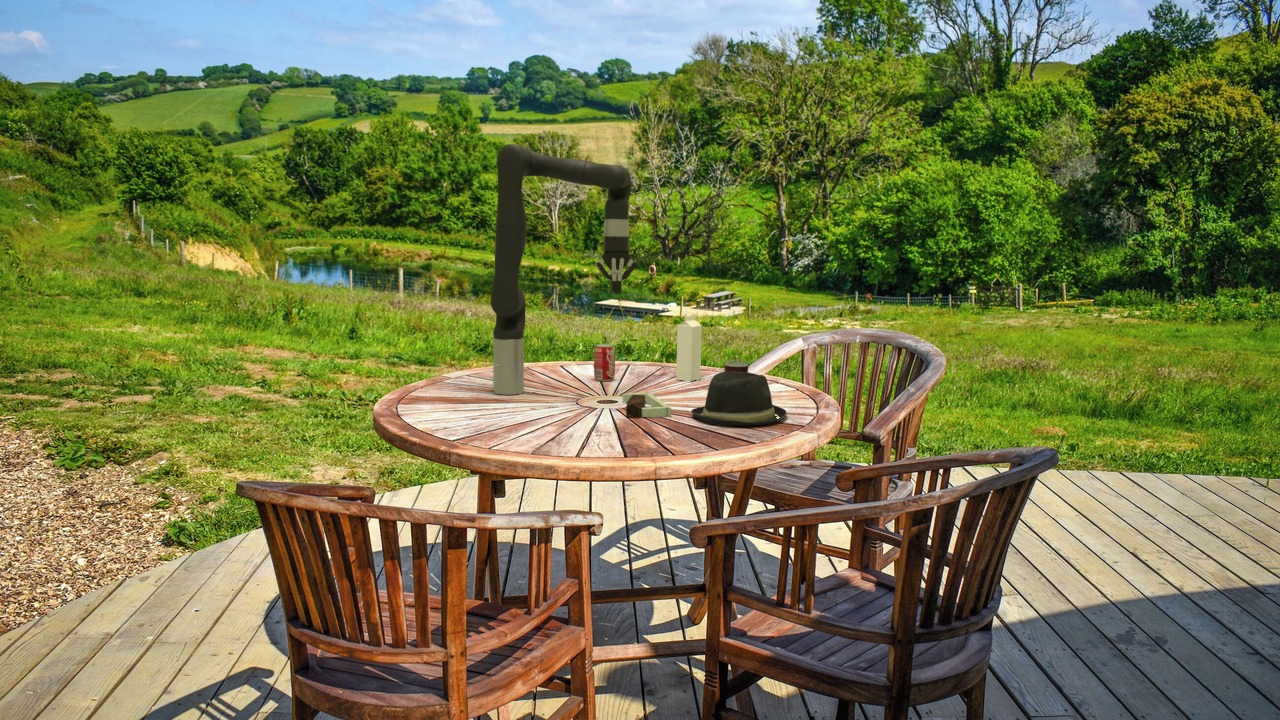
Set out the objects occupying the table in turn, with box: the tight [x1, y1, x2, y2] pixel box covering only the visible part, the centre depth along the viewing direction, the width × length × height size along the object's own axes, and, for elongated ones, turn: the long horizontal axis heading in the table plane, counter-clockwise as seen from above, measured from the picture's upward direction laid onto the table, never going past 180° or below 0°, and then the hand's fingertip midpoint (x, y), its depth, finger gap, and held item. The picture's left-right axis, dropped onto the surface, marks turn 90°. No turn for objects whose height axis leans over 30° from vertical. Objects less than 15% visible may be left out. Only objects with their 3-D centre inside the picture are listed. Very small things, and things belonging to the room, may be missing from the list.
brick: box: [625, 395, 646, 418], centre depth 241 cm, size 11×4×5 cm, turn 171°
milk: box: [675, 315, 703, 382], centre depth 291 cm, size 6×6×22 cm
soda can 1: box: [593, 343, 616, 383], centre depth 289 cm, size 7×7×12 cm
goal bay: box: [622, 392, 672, 418], centre depth 247 cm, size 8×21×2 cm, turn 16°
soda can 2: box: [723, 360, 749, 372], centre depth 257 cm, size 7×7×12 cm
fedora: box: [690, 371, 787, 427], centre depth 238 cm, size 25×27×12 cm
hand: (615, 293), depth 256 cm, fingers closed
